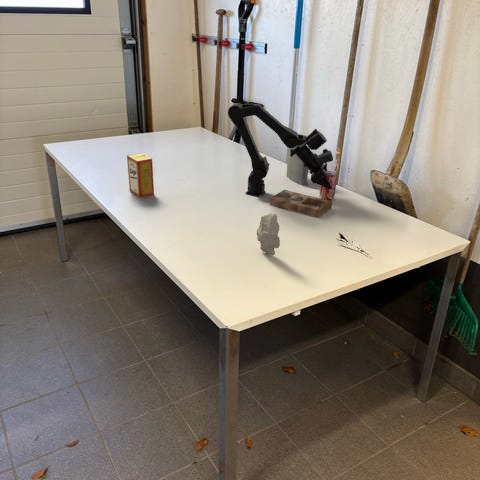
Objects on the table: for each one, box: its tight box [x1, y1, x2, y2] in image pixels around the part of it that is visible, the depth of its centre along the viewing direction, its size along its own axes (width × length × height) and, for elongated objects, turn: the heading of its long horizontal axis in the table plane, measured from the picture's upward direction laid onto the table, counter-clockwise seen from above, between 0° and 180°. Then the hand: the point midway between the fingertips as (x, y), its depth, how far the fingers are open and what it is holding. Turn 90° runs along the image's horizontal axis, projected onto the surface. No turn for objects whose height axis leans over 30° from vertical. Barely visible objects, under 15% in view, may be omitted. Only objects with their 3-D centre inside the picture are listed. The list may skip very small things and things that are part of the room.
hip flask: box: [285, 146, 311, 187], centre depth 220 cm, size 16×4×20 cm, turn 24°
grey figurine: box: [256, 212, 281, 256], centre depth 155 cm, size 11×4×15 cm, turn 38°
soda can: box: [318, 170, 338, 202], centre depth 200 cm, size 6×6×12 cm
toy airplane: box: [338, 232, 370, 255], centre depth 165 cm, size 8×21×2 cm, turn 29°
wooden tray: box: [269, 189, 333, 219], centre depth 195 cm, size 22×12×3 cm, turn 57°
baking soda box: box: [126, 153, 155, 198], centre depth 201 cm, size 10×6×16 cm
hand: (331, 185), depth 200 cm, fingers open, 9 cm apart
